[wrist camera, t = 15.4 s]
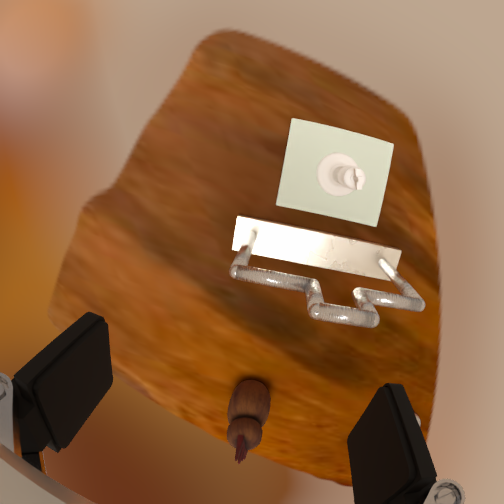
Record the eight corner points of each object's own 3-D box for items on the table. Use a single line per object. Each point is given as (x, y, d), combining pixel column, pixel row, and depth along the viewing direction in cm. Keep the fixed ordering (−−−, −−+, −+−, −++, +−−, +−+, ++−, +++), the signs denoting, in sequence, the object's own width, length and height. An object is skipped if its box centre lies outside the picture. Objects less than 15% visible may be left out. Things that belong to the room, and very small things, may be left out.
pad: (374, 225, 33) (376, 227, 32) (276, 204, 33) (275, 205, 32) (391, 144, 29) (393, 144, 29) (291, 119, 30) (291, 117, 29)
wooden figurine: (238, 369, 41) (219, 449, 27) (275, 378, 41) (269, 459, 26) (229, 398, 43) (211, 472, 29) (264, 406, 43) (255, 482, 28)
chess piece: (356, 151, 30) (386, 147, 20) (360, 194, 31) (391, 208, 21) (313, 154, 30) (326, 150, 21) (318, 198, 32) (333, 213, 22)
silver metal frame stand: (389, 277, 34) (447, 354, 18) (233, 246, 35) (193, 316, 19) (398, 247, 33) (468, 311, 17) (238, 214, 34) (198, 262, 18)
